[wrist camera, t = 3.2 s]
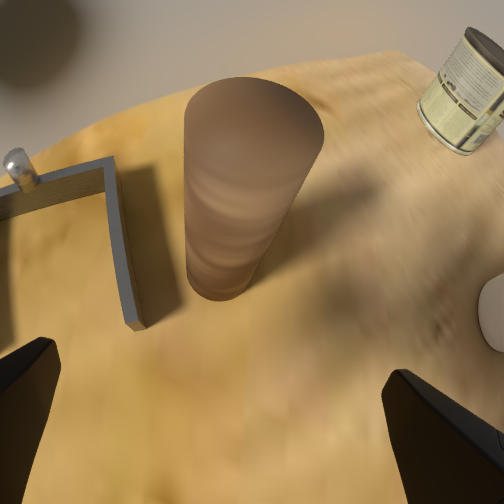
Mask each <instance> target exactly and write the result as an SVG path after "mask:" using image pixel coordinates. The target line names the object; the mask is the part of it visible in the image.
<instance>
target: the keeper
mask: <svg viewBox="0 0 504 504" xmlns="http://www.w3.org/2000/svg"><path fill="white" fill-rule="evenodd" d="M3 166H4V168H5V169H6V171H7V172H8V174H9V175H10V177H11V178H12V180H13V181H14V183H15V184H12V185H9V186H6V187H3V188H0V221H2V220H5V219H8V218H11V217H14V216H17V215H20V214H24V213H27V212H30V211H34V210H37V209H40V208H44V207H47V206H51V205H54V204H58V203H62V202H65V201H69V200H73V199H77V198H80V197H84V196H88V195H92V194H96V193H100V192H105V194H106V205H107V214H108V223H109V231H110V239H111V247H112V253H113V260H114V267H115V273H116V279H117V284H118V290H119V295H120V301H121V306H122V311H123V315H124V320H125V324H126V325H127V326H129V327H130V328H131V329H132V330H133V331H134V332H135V331H139V330H144V329H146V326H145V322H144V318H143V313H142V309H141V304H140V300H139V295H138V290H137V285H136V280H135V275H134V270H133V264H132V259H131V253H130V247H129V241H128V235H127V229H126V222H125V215H124V208H123V200H122V192H121V183H120V177H119V174H118V170H117V167H116V163H115V160H114V156H110V157H106V158H102V159H98V160H94V161H90V162H86V163H82V164H78V165H74V166H71V167H67V168H63V169H60V170H56V171H53V172H49V173H46V174H43V175H38V174H37V172H36V170H35V169H34V167H33V165H32V163H31V162H30V160H29V158H28V156H27V154H26V153H25V151H24V149H23V148H15V149H13V150H11V151H10V152H9V153H8V154H7V155H6V156H5V158H4V161H3Z"/></svg>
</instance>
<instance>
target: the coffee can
mask: <svg viewBox="0 0 504 504" xmlns="http://www.w3.org/2000/svg"><path fill="white" fill-rule="evenodd" d="M417 111H418V114H419V116H420V118H421V120H422V121H423V123H424V125H425V126H426V127H427V128H428V130H429V131H430V132H431V133H432V134H433V135H434V136H435V137H436V138H437V139H438V140H439V141H440V142H441V143H443V144H444V145H445V146H446V147H448V148H449V149H451V150H453V151H454V152H456V153H458V154H461V155H470V154H472V153H473V152H474V150H475V149H476V148H477V147H478V146H479V145H480V144H481V143H482V142H483V141H484V140H485V139H486V138H487V137H488V136H489V135H490V134H491V133H492V132H493V130H494V129H495V128H496V127H497V126H498V125H499V124H500V123H501V122H502V121H503V120H504V50H503V49H502V48H501V47H500V46H499V45H497V44H496V43H495V42H494V41H493V40H491V39H490V38H489V37H487V36H486V35H484V34H483V33H481V32H479V31H478V30H476V29H474V28H471V27H467V29H466V31H465V34H464V36H463V37H462V39H461V40H460V42H459V43H458V45H457V46H456V48H455V49H454V51H453V52H452V54H451V55H450V57H449V58H448V60H447V61H446V62H445V64H444V65H443V67H442V68H441V70H440V71H439V73H438V74H437V76H436V77H435V79H434V80H433V82H432V83H431V85H430V86H429V87H428V89H427V90H426V92H425V93H424V95H423V96H422V97H421V99H419V100H418V102H417Z"/></svg>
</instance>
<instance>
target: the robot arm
mask: <svg viewBox="0 0 504 504" xmlns="http://www.w3.org/2000/svg"><path fill="white" fill-rule="evenodd" d="M60 371H61V362H60V358H59V354H58V350H57V345H56V342H55V341H54V340H53V339H50V338H46V337H38V338H37V339H35V340H33V341H31V342H29V343H28V344H26V345H24V346H22V347H21V348H19V349H17V350H15V351H13V352H12V353H10V354H8V355H6V356H5V357H3V358H1V359H0V504H22V500H23V496H24V492H25V489H26V485H27V482H28V478H29V475H30V471H31V468H32V465H33V461H34V458H35V455H36V452H37V449H38V446H39V443H40V440H41V437H42V434H43V432H44V429H45V426H46V423H47V420H48V416H49V413H50V409H51V405H52V401H53V397H54V393H55V389H56V386H57V382H58V379H59V375H60ZM381 397H382V403H383V407H384V412H385V417H386V422H387V427H388V432H389V437H390V441H391V445H392V449H393V452H394V455H395V459H396V462H397V465H398V469H399V472H400V476H401V480H402V483H403V487H404V490H405V494H406V498H407V502H408V504H504V434H503V433H502V432H500V431H499V430H497V429H495V428H494V427H493V426H491V425H490V424H488V423H487V422H485V421H484V420H482V419H481V418H479V417H478V416H476V415H475V414H473V413H472V412H470V411H469V410H467V409H466V408H464V407H463V406H461V405H460V404H458V403H457V402H455V401H454V400H452V399H451V398H449V397H448V396H446V395H445V394H443V393H442V392H440V391H439V390H437V389H436V388H434V387H433V386H431V385H430V384H428V383H427V382H426V381H424V380H423V379H421V378H420V377H418V376H417V375H415V374H414V373H412V372H411V371H409V370H408V369H396V370H394V371H393V372H392V373H391V375H390V377H389V378H388V380H387V382H386V384H385V386H384V388H383V390H382V394H381Z"/></svg>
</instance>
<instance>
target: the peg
mask: <svg viewBox="0 0 504 504" xmlns="http://www.w3.org/2000/svg"><path fill="white" fill-rule="evenodd" d="M323 142H324V130H323V125H322V122H321V120H320V118H319V116H318V114H317V113H316V111H315V110H314V108H313V107H312V106H311V105H310V104H309V103H308V102H307V101H306V100H305V99H304V98H303V97H301V96H300V95H298V94H297V93H296V92H294V91H292V90H291V89H289V88H287V87H285V86H283V85H280V84H277V83H275V82H271V81H268V80H264V79H259V78H251V77H235V78H227V79H223V80H219V81H216V82H213V83H211V84H209V85H207V86H205V87H203V88H202V89H200V90H199V91H198V92H197V93H196V94H195V95H194V96H193V97H192V98H191V99H190V101H189V103H188V105H187V107H186V110H185V115H184V216H185V248H186V270H187V278H188V281H189V283H190V285H191V286H192V288H193V289H194V290H195V291H196V292H197V293H198V294H199V295H200V296H202V297H204V298H206V299H208V300H212V301H227V300H230V299H233V298H235V297H237V296H238V295H240V294H241V293H242V292H243V291H244V290H245V288H246V287H247V285H248V283H249V281H250V279H251V278H252V276H253V274H254V272H255V270H256V269H257V267H258V265H259V263H260V261H261V260H262V258H263V256H264V254H265V252H266V250H267V249H268V247H269V245H270V243H271V241H272V239H273V238H274V236H275V234H276V232H277V230H278V228H279V227H280V225H281V223H282V221H283V219H284V217H285V216H286V214H287V212H288V210H289V208H290V206H291V205H292V203H293V201H294V199H295V197H296V195H297V193H298V192H299V190H300V188H301V186H302V184H303V182H304V181H305V179H306V177H307V175H308V173H309V171H310V169H311V168H312V166H313V164H314V162H315V160H316V158H317V156H318V155H319V153H320V151H321V148H322V146H323Z"/></svg>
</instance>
